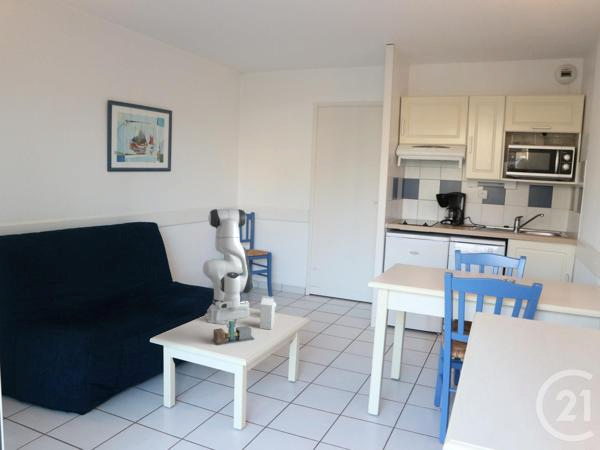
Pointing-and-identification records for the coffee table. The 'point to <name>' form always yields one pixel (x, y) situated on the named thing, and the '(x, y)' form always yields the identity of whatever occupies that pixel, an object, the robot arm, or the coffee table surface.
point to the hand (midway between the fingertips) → (231, 327)
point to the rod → (231, 332)
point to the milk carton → (267, 312)
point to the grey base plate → (243, 336)
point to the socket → (219, 335)
